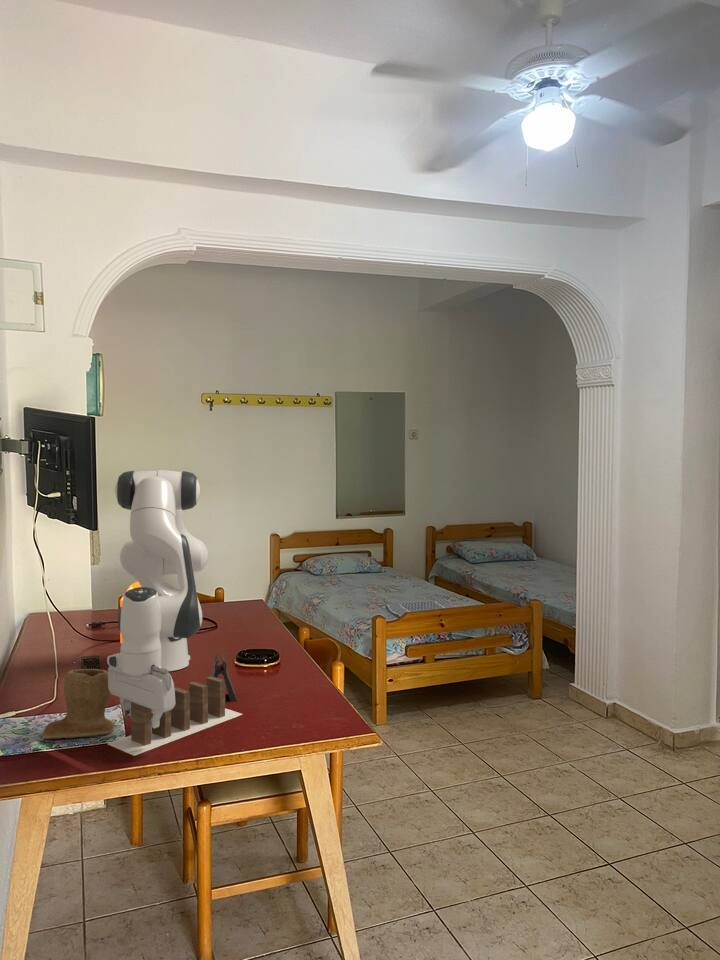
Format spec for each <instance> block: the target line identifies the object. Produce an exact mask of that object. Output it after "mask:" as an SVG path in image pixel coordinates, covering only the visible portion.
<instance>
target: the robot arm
mask: <svg viewBox="0 0 720 960" xmlns="http://www.w3.org/2000/svg"><path fill="white" fill-rule="evenodd" d="M115 483H116V484H115V488H114V492H115V493H114V494H115V498H116V500H117V504H118V505H119V506H120V507H121V508H122V509H125V510H129V511H130V515H129V532H130V533H129V534H130V538H131V540H128V541H127V542H125V544H123V546H122V548H121V550H120V554H119V561H120V565H121V567H122V568H123V570H124V571H125V572H126V573H127V574H129V575H130V576H132V577H133V578H134V579H135V580H136V582H138V583H139V584H140V586H141V587H137V588H133V589H130V590H128V589H127V590H128V591H127V590H126V591H127V592H126V591H125V592H124V593H123V596H122V597H123V601H122V606H121V607H120V606H119V609H118V619H117V621H118V625H117V626H118V627H117V628H118V631H119V632H121V635H122V643H120V650H119V651H120V652H117V653H114V654H111V655H107V659H106V662H107V663H106V664H107V665H108V668H107V671H108V689H109V691H110V695H111V696H115V697H117V698H119V703H120V705H121V708H122V710H123V715H122V716H123V717H124V718H126V719H131V702H133V703H136V704H139V705H142V706H144V707H147V708H150V709H151V719H149V726H150V727H151V728H157V727H159V725H160V718H161V716H162V714H163V712H166V711H169V710H172V709H173V708H174V706H175V690H174V688H175V683H174V680H173V678H172V675H171V674H170V672H173V671H178V670H181V669H182V670H183V669H185V668H186V667H189V665H190V660H191V655H190V654H189V651H188V640H187V639H189V638H191V637H193V636H194V635H195V634H197V633H198V631H199V630H200V629H201V626H202V624H203V610H202V606H201V604H200V601H199V597H198V594H197V585H196V579H195V573H199V572H201V571H202V570H203V569H204V568H205V567H206V566H207V563H208V561H209V551H208V548H207V545H206V544H205V543H204V542H203V541H202V540H201V539H199V538H197V537H195V536H193V535H192V533H190V532H189V531H188V529H187V528H186V526H185V524H184V518H183V511H187V510H192V509H193V508H194V507H195V506H196V505H197V502H198V501H199V499H200V496H201V484H200V483H199V480H198V477H197V475H195V474H194V472H190V471H177V470H169V469H158V470H142V471H141V470H140V471H139V470H138V471H135V470H130V471H129V470H128V471H125V472H122V473H121V474H120V475H119V476H118V479H117V481H116V482H115ZM164 575H177V581H178V587H175V586H174V585H172V584H169V583H167V582H166V581H165V580H164V578H163V576H164ZM152 714H153V716H152Z"/></svg>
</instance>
